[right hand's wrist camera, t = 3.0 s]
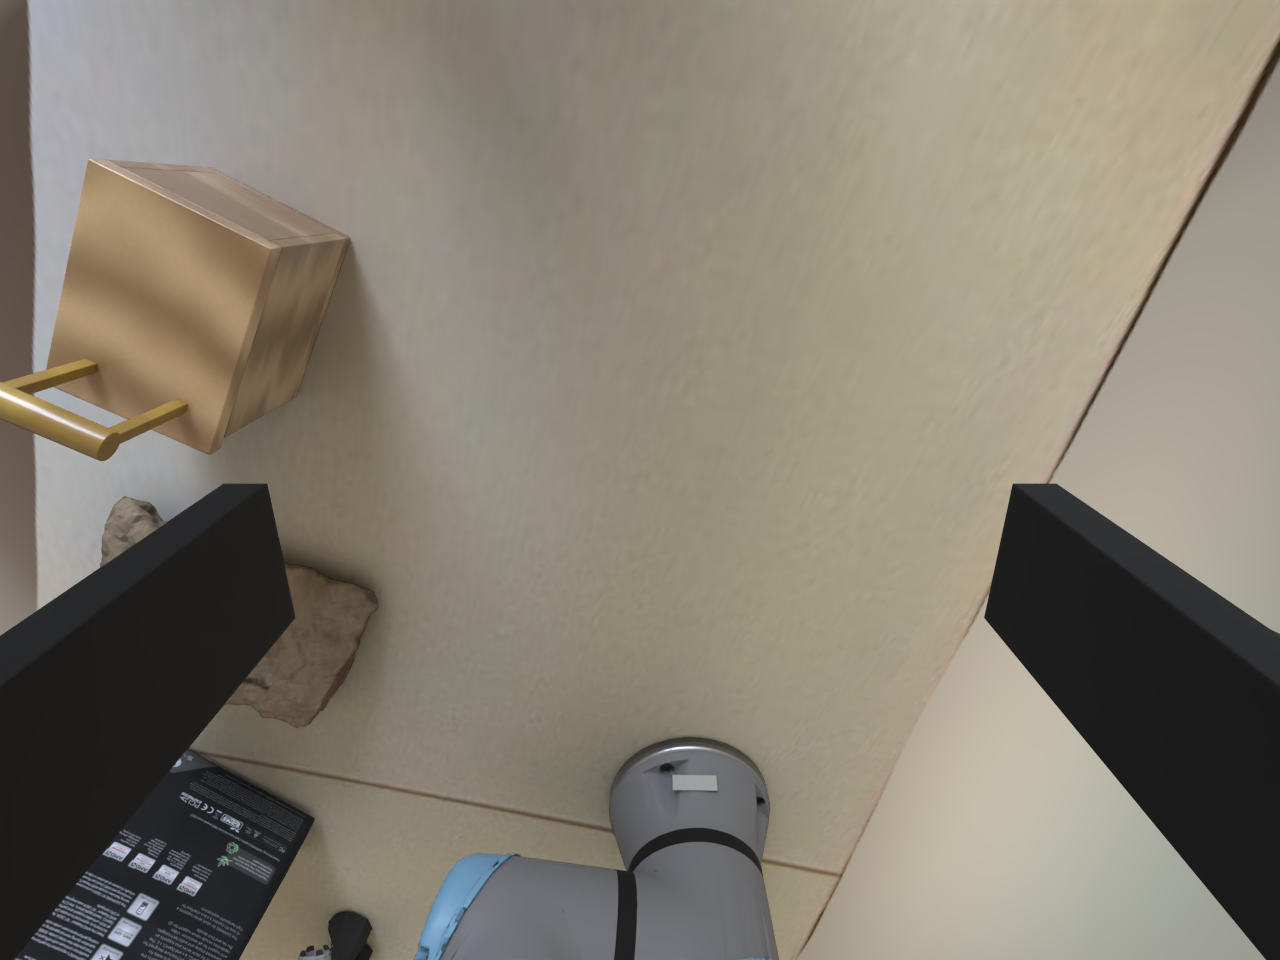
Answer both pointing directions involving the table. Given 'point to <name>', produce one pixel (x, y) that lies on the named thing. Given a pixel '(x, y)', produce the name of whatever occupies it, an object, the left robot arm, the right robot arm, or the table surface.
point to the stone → (308, 648)
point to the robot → (343, 940)
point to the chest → (293, 288)
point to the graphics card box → (179, 874)
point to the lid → (147, 319)
